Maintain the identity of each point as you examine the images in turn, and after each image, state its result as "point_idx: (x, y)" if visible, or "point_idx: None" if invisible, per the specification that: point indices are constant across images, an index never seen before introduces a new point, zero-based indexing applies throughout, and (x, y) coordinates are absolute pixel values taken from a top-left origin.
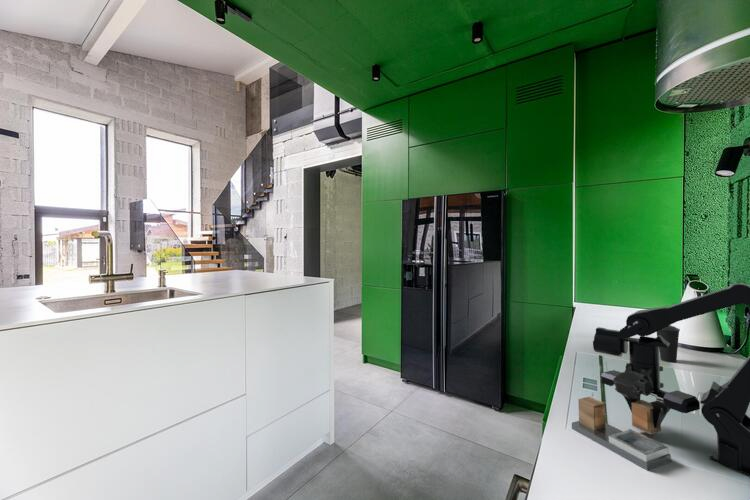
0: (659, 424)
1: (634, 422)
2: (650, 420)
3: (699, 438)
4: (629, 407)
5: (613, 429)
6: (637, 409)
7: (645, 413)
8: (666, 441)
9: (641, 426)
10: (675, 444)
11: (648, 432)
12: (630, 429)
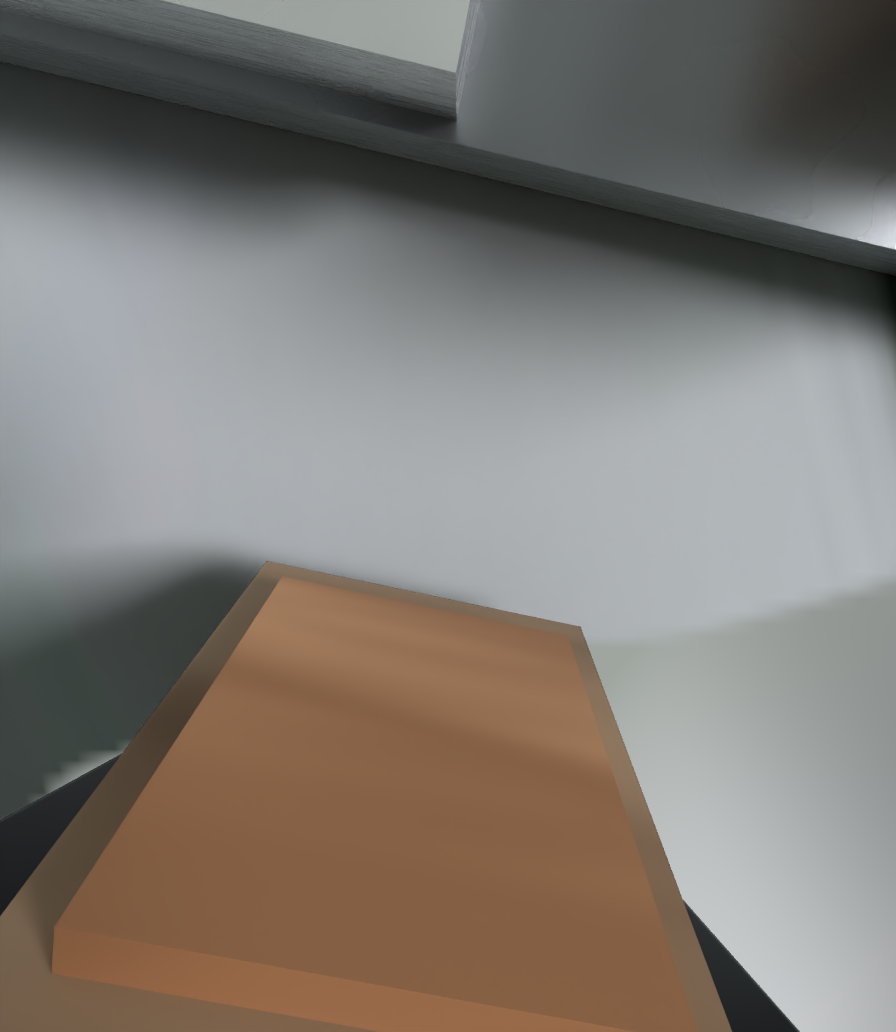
0: None
1: (542, 644)
2: (149, 732)
3: None
4: (777, 1010)
5: (800, 77)
6: (479, 918)
7: (184, 840)
8: (157, 677)
9: (399, 602)
10: (59, 688)
11: (296, 577)
12: (446, 46)
